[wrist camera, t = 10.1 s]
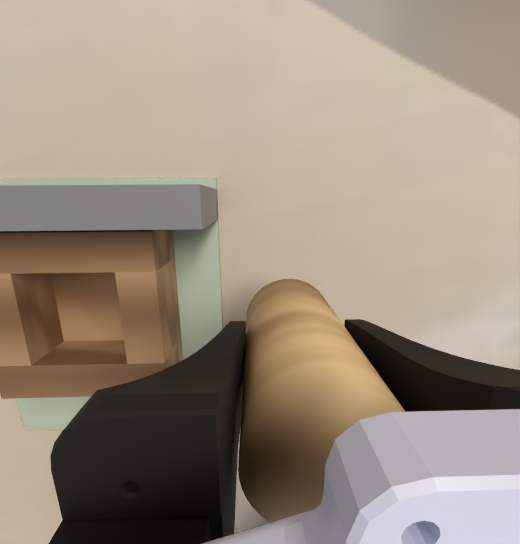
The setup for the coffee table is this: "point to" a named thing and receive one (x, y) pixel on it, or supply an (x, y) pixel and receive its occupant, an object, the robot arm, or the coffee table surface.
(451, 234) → the coffee table surface
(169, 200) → the slate stop wall
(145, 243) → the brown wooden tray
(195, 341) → the sage rubber mat
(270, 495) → the oak dowel
